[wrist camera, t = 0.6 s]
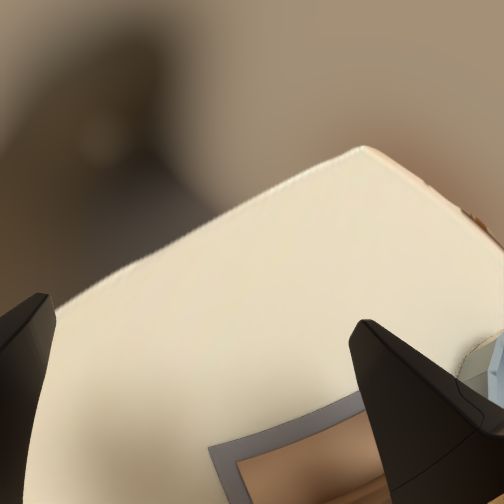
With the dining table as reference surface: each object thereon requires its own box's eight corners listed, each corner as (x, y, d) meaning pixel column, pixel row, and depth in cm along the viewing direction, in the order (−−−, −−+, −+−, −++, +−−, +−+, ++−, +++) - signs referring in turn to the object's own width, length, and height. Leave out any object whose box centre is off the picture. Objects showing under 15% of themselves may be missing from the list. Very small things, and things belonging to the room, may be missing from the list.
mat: (469, 510, 11) (472, 511, 11) (287, 608, 8) (287, 610, 8) (409, 362, 20) (411, 361, 19) (208, 447, 17) (207, 447, 16)
